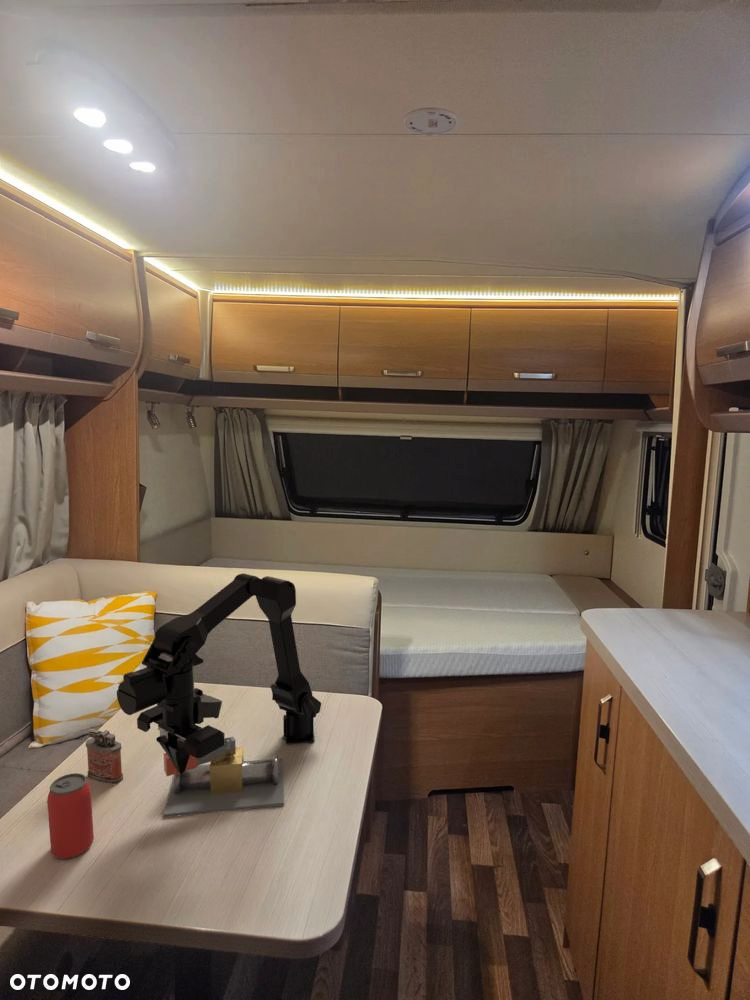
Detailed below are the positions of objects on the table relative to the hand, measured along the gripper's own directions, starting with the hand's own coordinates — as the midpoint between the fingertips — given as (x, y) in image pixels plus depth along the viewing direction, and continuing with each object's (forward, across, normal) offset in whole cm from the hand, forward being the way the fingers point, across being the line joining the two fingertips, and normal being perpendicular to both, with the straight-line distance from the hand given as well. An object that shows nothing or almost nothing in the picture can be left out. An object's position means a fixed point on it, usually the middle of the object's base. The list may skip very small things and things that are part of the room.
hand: (181, 772), depth 110 cm
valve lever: (+1, +1, -5) cm, 5 cm away
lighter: (+8, +22, +3) cm, 23 cm away
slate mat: (+8, -1, -10) cm, 13 cm away
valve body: (+8, -1, -10) cm, 13 cm away
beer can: (+8, +8, +17) cm, 20 cm away
